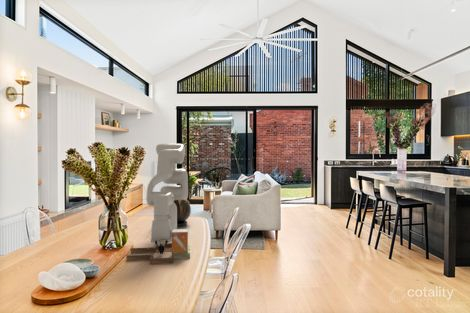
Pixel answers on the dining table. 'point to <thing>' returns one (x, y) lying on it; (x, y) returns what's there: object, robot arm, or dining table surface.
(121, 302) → the dining table surface
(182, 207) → the amphora vase
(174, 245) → the small box
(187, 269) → the dining table surface
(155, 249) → the trap track
